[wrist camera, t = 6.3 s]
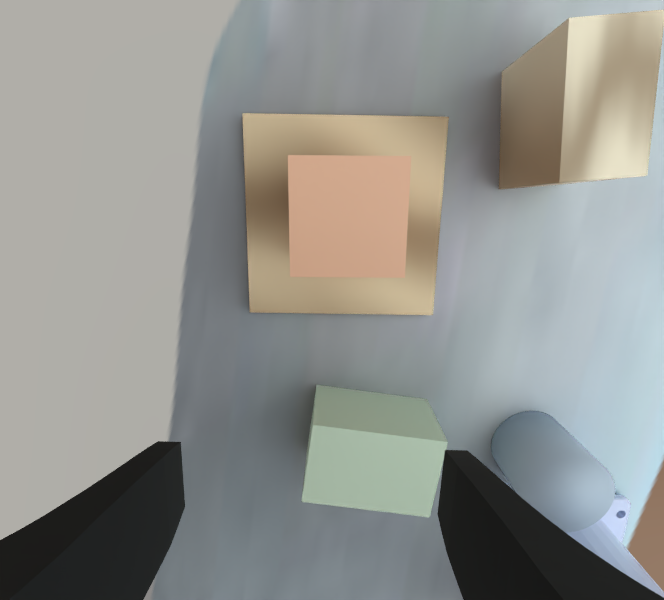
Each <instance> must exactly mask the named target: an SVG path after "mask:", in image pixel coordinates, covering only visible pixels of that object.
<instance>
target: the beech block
mask: <svg viewBox="0 0 664 600" xmlns="http://www.w3.org/2000/svg"><path fill="white" fill-rule="evenodd" d="M663 27H664V10H654V11H643V12H631V13H619V14H608V15H596V16H585V17H573V18H568V19H567V20H566V21H565V22H563V23H562V24H561V25H560V26H558V27H557V28H556V29H555V30H553V31H552V32H551V33H550V34H548V35H547V36H546V37H545V38H543V39H542V40H541V41H540V42H538V43H537V44H536V45H535V46H533V47H532V48H531V49H530V50H528V51H527V52H526V53H525V54H524V55H522V56H521V57H520V58H519V59H517V60H516V61H515V62H514V63H512V64H511V65H510V66H509V67H507V68H506V69H505V70H504V71H502V83H501V123H500V162H499V189H510V188H523V187H536V186H548V185H561V184H571V183H581V182H591V181H601V180H611V179H620V178H630V177H640V176H647V172H648V163H649V154H650V145H651V136H652V127H653V118H654V109H655V100H656V91H657V82H658V73H659V63H660V54H661V45H662V36H663Z"/></svg>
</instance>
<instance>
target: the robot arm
mask: <svg viewBox="0 0 664 600" xmlns="http://www.w3.org/2000/svg"><path fill="white" fill-rule="evenodd" d="M184 507H185V500H184V485H183V471H182V456H181V442H159V441H158V442H157V443H155V444H153V445H152V446H150V447H148V448H147V449H145V450H144V451H142V452H141V453H139V454H138V455H136V456H135V457H133V458H132V459H130V460H129V461H128V462H126V463H125V464H123V465H122V466H120V467H119V468H117V469H116V470H115V471H113V472H111V473H110V474H108V475H107V476H105V477H104V478H103V479H101V480H100V481H98V482H97V483H95V484H94V485H92V486H91V487H89V488H88V489H86V490H84V491H83V492H81V493H80V494H78V495H76V496H75V497H73V498H72V499H70V500H68V501H67V502H65V503H64V504H62V505H60V506H59V507H57V508H56V509H54V510H52V511H51V512H49V513H48V514H46V515H45V516H43V517H41V518H40V519H38V520H36V521H34V522H32V523H31V524H29V525H27V526H25V527H24V528H22V529H20V530H18V531H16V532H15V533H13V534H11V535H9V536H7V537H5V538H3V539H2V540H0V600H143V599H144V597H145V595H146V593H147V591H148V589H149V587H150V586H151V584H152V582H153V580H154V578H155V576H156V574H157V572H158V570H159V568H160V566H161V564H162V562H163V560H164V558H165V556H166V554H167V552H168V549H169V547H170V545H171V543H172V540H173V538H174V535H175V532H176V530H177V527H178V524H179V522H180V519H181V516H182V513H183V510H184ZM630 508H631V503H630V501H629V500H628V499H627V498H626V497H625V496H623V495H615V497H614V500H613V503H612V505H611V507H610V509H609V510H608V512H607V513H606V514H605V515H604V516H603V517H602V518H601V519H600V520H599V521H597V522H596V523H594V524H593V525H591V526H589V527H587V528H585V529H582V530H579V531H574V532H564V531H563V530H561V529H560V528H559V527H558V526H556V525H555V524H554V523H552V522H551V521H550V520H548V519H547V518H546V517H545V516H543V515H542V514H541V513H540V512H538V511H537V510H536V509H535V508H533V507H532V506H531V505H530V504H529V503H527V502H526V501H525V500H524V499H523V498H521V497H520V496H519V495H518V494H517V493H516V492H514V491H513V490H512V489H511V488H510V487H509V486H507V485H506V484H505V483H504V482H503V481H502V480H501V479H499V478H498V477H497V476H496V475H495V474H494V473H493V472H491V471H490V470H489V469H488V468H487V467H486V466H485V465H484V464H482V463H481V462H480V461H479V460H478V459H477V458H476V457H474V456H473V455H472V454H471V453H469V452H468V451H458V450H445V454H444V463H443V471H442V480H441V489H440V498H439V507H438V517H439V521H440V526H441V530H442V535H443V539H444V543H445V547H446V551H447V554H448V557H449V560H450V563H451V566H452V569H453V571H454V574H455V577H456V580H457V583H458V585H459V588H460V591H461V594H462V597H463V599H464V600H664V592H663V591H662V589H661V588H660V587H659V586H658V585H657V584H656V583H655V581H654V580H653V579H652V578H651V577H650V575H649V574H648V573H647V572H646V571H645V570H644V569H643V568H642V566H641V565H640V564H639V563H638V562H637V561H636V559H635V558H634V557H633V556H632V555H631V553H630V552H629V551H628V550H627V549H626V548H625V546H624V545H623V544H622V542H623V538H624V533H625V529H626V525H627V521H628V516H629V512H630ZM618 511H619V512H618Z"/></svg>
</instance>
